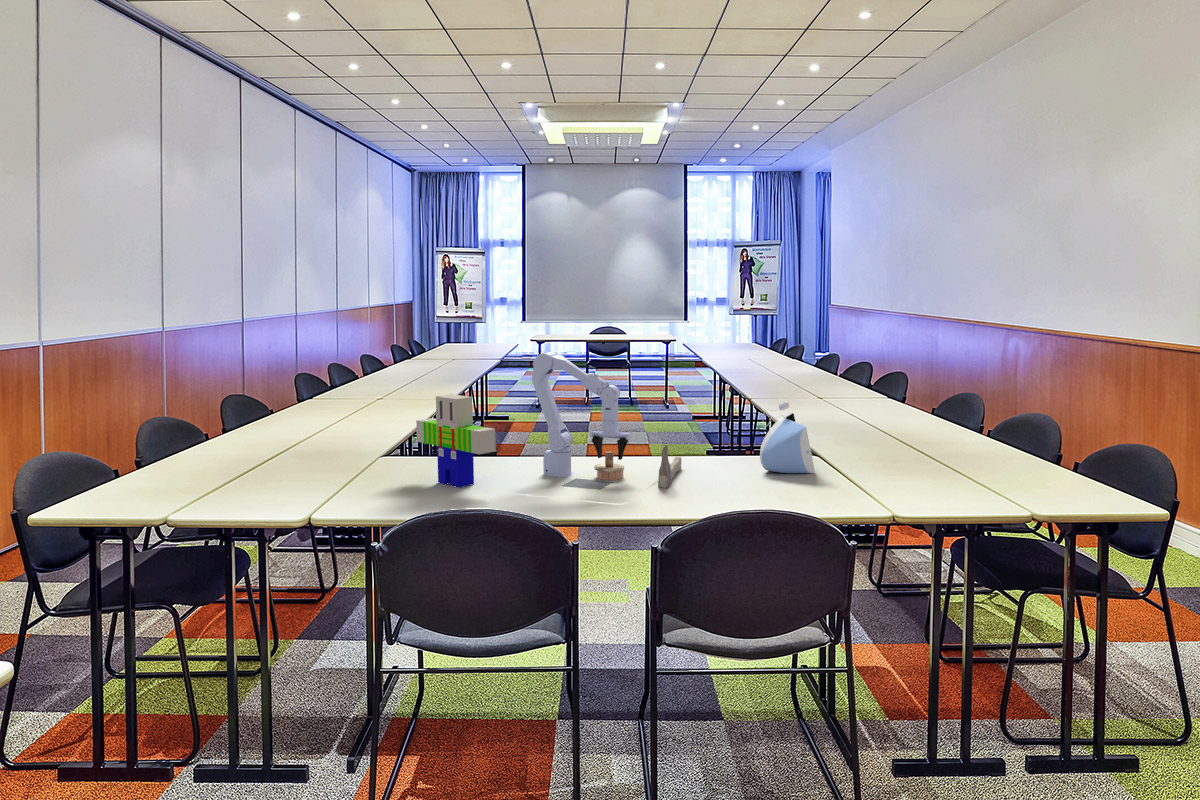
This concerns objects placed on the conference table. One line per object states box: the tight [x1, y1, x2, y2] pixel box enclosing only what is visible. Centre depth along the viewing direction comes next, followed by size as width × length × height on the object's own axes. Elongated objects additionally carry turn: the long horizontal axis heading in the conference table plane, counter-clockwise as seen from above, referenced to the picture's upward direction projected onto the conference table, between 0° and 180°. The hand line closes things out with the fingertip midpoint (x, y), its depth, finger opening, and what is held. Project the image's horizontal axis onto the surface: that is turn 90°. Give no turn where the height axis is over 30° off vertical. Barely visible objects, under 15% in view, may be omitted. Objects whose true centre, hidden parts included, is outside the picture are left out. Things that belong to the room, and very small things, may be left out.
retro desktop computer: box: [759, 400, 816, 474], centre depth 326 cm, size 25×23×17 cm
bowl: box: [596, 470, 624, 481], centre depth 315 cm, size 9×9×4 cm
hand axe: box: [657, 444, 682, 489], centre depth 315 cm, size 35×3×14 cm, turn 166°
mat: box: [561, 478, 614, 490], centre depth 305 cm, size 14×12×1 cm
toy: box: [415, 393, 496, 488], centre depth 306 cm, size 34×7×30 cm, turn 47°
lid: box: [594, 451, 625, 472], centre depth 314 cm, size 10×10×6 cm
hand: (610, 458), depth 315 cm, fingers open, 7 cm apart
